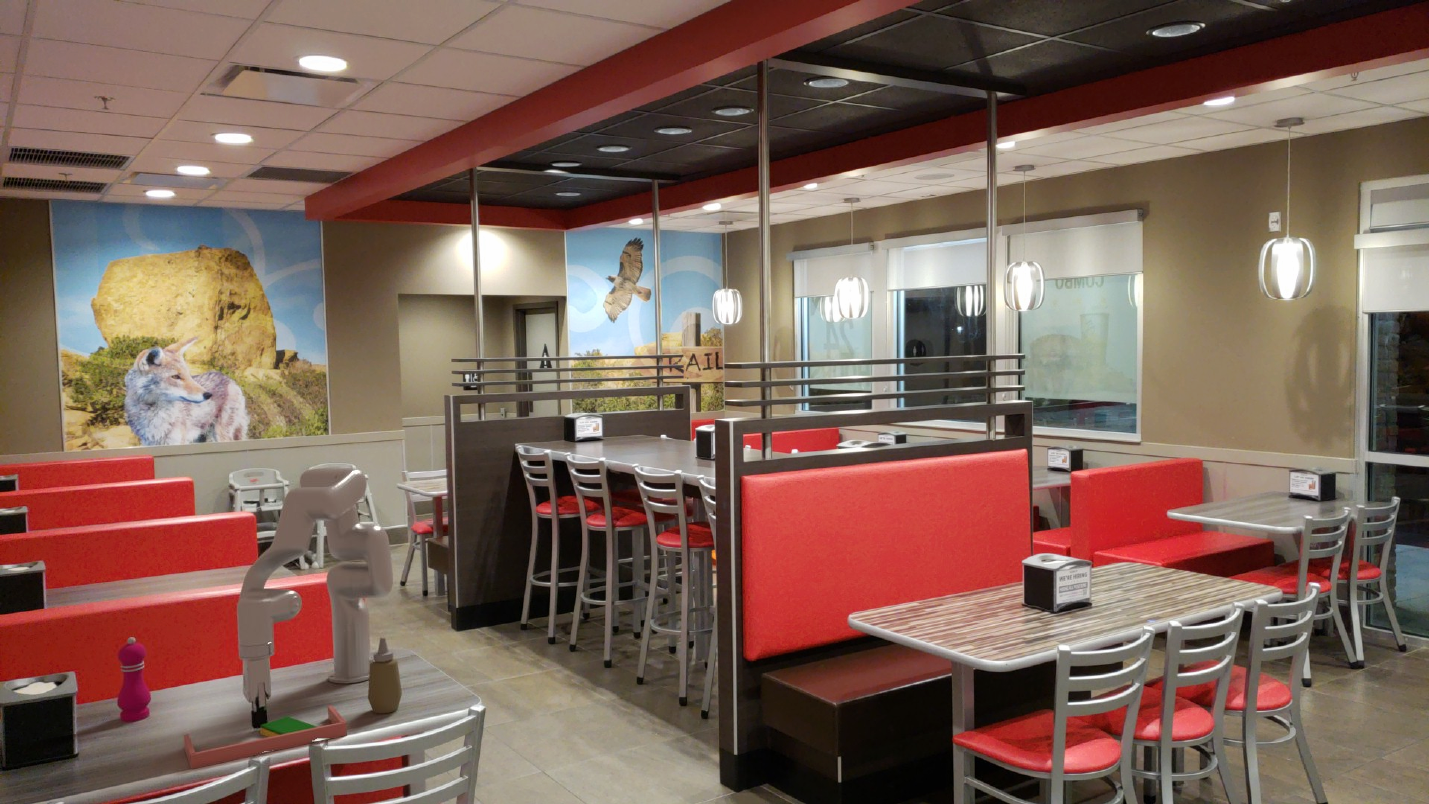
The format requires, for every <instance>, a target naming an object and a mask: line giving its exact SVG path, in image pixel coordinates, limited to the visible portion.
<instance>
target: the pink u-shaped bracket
mask: <svg viewBox="0 0 1429 804" xmlns="http://www.w3.org/2000/svg"><path fill="white" fill-rule="evenodd" d="M327 715H328V720H329V721H330V723H331V724H327V725H320V726H317V727H316V728H311V729H306V730H301V731H297V732H292V733H287V734H282V735H277V736H273V737H268V736H267V737H265V738H260V739H253V740H249V741H244V742H240V743H234V744H231V745H225V746H221V747H216V748H210V749H206V750H202V751H198V752H196V751H195V750H196V749H195V748H194V745H193V742H192V739H191V737H190V733H187V734H183V745H184V747H183V748H184V751H185V754H186V758H187V761H188V764H189V767H190V769H191V770H192V769H193V770H194V769H197V768H198V769H199V768H202V767H207V766H211V765H216V764H219V763H221V764H222V763H225V762H230V761H234V760H238V759H243V758H248V757H253V756H252V755H254V756H256V755H255V754H258V755H261V754H260V753H262V752H264V751H272V750H277V751H281V750H280V749H282V750H284V749H286V750H287V749H290V748H294V747H295V746H296V747H299V746H304V744H305V745H309V744H311V743H310V742H312V740H315V739H317V738H333V739H335V738H334V737H337V738H341V736H342V737H345V736H344V735H346V736H347V735H348V729H347V727H348V726H347V721H346V720H345V719H344V718H343V716H341V714H340V713H339V712H338V711H337V710H336V709H335V707H334V706H333V705H328V706H327ZM308 743H309V744H308ZM272 752H273V751H272Z"/></svg>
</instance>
